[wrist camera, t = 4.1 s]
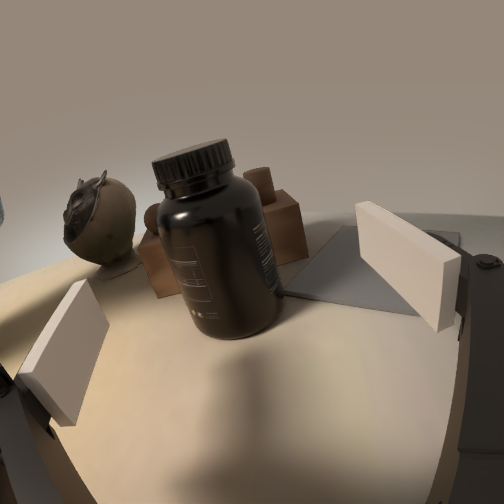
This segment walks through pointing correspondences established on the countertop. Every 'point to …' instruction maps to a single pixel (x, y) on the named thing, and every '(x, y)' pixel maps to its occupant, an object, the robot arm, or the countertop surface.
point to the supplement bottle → (217, 242)
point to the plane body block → (278, 222)
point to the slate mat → (350, 276)
